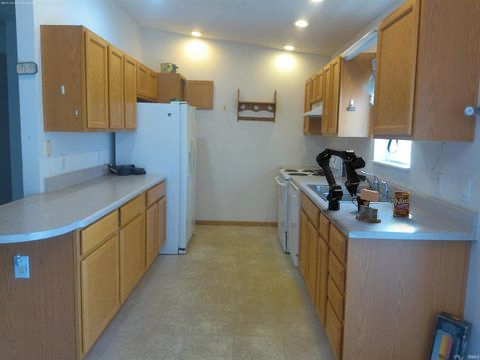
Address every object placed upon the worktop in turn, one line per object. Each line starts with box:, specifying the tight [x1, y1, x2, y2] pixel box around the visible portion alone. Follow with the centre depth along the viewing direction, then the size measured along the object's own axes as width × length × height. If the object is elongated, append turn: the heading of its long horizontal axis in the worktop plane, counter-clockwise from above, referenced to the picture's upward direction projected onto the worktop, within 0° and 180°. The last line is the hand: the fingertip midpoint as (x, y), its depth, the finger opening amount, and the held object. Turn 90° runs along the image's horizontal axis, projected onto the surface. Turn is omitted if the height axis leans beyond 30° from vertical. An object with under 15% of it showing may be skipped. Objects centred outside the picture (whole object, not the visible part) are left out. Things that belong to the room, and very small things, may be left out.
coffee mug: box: [351, 193, 371, 212], centre depth 248 cm, size 12×9×10 cm
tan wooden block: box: [359, 188, 380, 203], centre depth 220 cm, size 12×2×6 cm, turn 23°
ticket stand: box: [355, 205, 382, 224], centre depth 221 cm, size 13×7×8 cm, turn 23°
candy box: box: [392, 190, 412, 219], centre depth 232 cm, size 9×4×15 cm, turn 60°
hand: (353, 196), depth 233 cm, fingers open, 9 cm apart
